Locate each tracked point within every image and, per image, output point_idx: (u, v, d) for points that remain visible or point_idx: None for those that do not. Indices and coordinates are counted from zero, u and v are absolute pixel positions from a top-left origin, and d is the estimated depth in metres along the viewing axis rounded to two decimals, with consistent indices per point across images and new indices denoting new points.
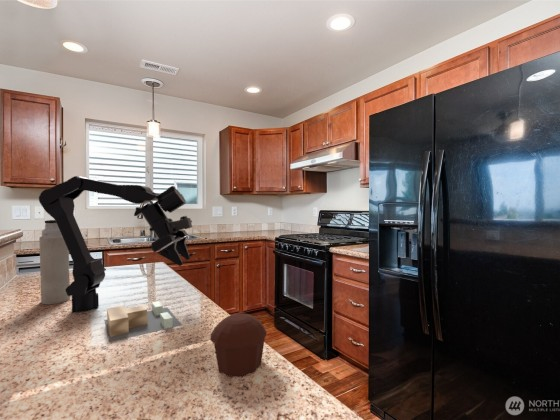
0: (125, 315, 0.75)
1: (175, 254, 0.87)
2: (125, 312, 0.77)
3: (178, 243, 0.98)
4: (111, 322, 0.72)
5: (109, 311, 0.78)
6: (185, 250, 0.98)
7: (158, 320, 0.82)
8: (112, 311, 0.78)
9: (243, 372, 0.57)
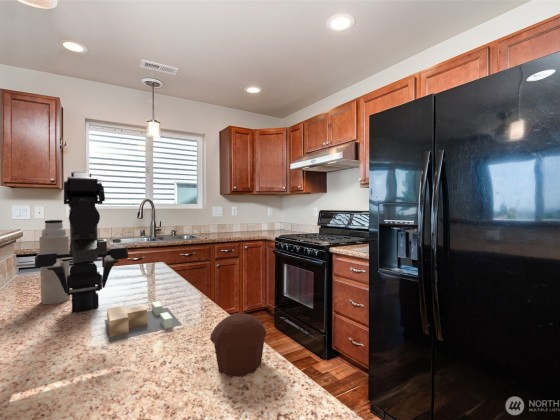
0: (125, 315, 0.75)
1: None
2: (125, 312, 0.77)
3: (104, 262, 0.76)
4: (111, 322, 0.72)
5: (109, 311, 0.78)
6: (103, 276, 0.75)
7: (158, 320, 0.82)
8: (112, 311, 0.78)
9: (243, 372, 0.57)
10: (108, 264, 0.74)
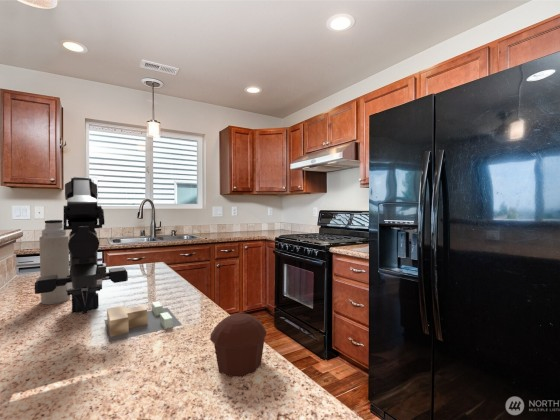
0: (125, 315, 0.75)
1: None
2: (125, 312, 0.77)
3: (87, 287, 0.74)
4: (111, 322, 0.72)
5: (109, 311, 0.78)
6: (86, 301, 0.73)
7: (158, 320, 0.82)
8: (112, 311, 0.78)
9: (243, 372, 0.57)
10: (91, 290, 0.72)
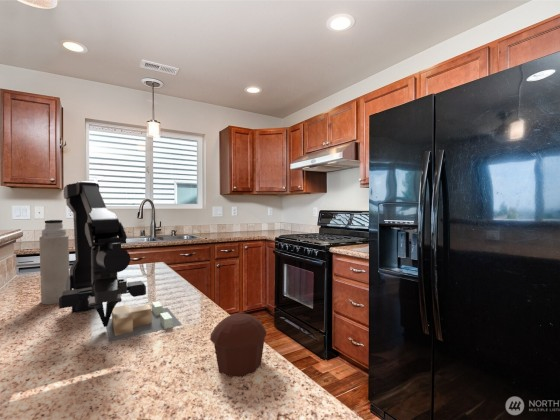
0: (129, 314, 0.76)
1: (99, 313, 0.74)
2: (129, 311, 0.78)
3: (107, 301, 0.76)
4: (115, 321, 0.73)
5: (113, 310, 0.79)
6: (106, 315, 0.75)
7: (158, 320, 0.82)
8: (117, 310, 0.79)
9: (243, 372, 0.57)
10: (111, 304, 0.74)
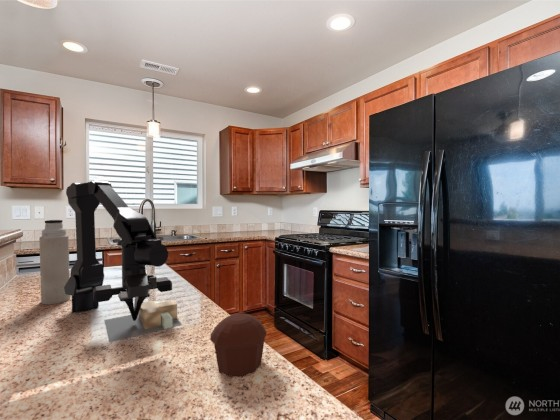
0: (157, 309, 0.79)
1: (129, 308, 0.78)
2: (156, 306, 0.82)
3: (136, 296, 0.80)
4: (145, 315, 0.76)
5: (141, 305, 0.82)
6: (135, 309, 0.79)
7: None
8: (144, 305, 0.83)
9: (243, 372, 0.57)
10: (140, 298, 0.78)
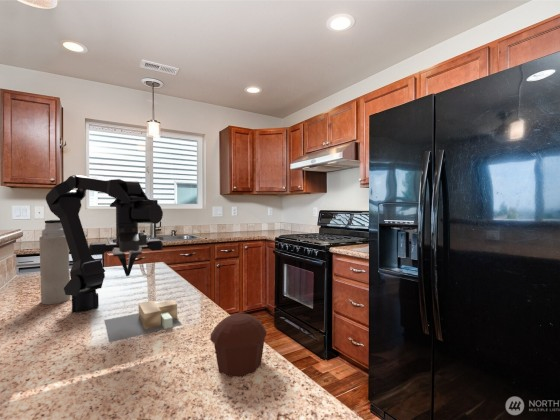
0: (157, 309, 0.79)
1: (122, 264, 0.85)
2: (156, 306, 0.82)
3: (129, 254, 0.86)
4: (145, 315, 0.76)
5: (141, 305, 0.82)
6: (128, 265, 0.86)
7: None
8: (144, 305, 0.83)
9: (243, 372, 0.57)
10: (133, 255, 0.85)
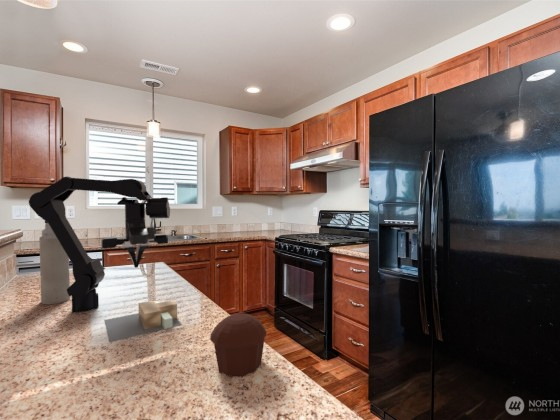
0: (157, 309, 0.79)
1: (131, 256, 0.93)
2: (156, 306, 0.82)
3: (138, 247, 0.94)
4: (145, 315, 0.76)
5: (141, 305, 0.82)
6: (137, 258, 0.94)
7: None
8: (144, 305, 0.83)
9: (243, 372, 0.57)
10: (141, 248, 0.93)
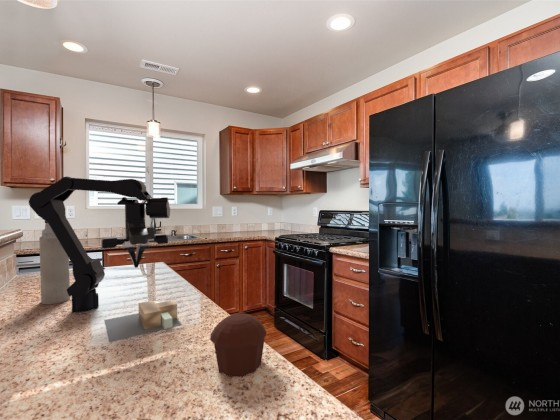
0: (157, 309, 0.79)
1: (131, 256, 0.93)
2: (156, 306, 0.82)
3: (138, 247, 0.94)
4: (145, 315, 0.76)
5: (141, 305, 0.82)
6: (137, 258, 0.94)
7: None
8: (144, 305, 0.83)
9: (243, 372, 0.57)
10: (141, 248, 0.93)
